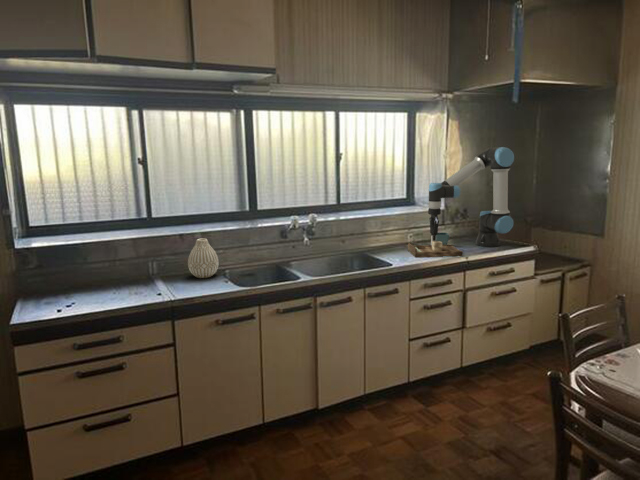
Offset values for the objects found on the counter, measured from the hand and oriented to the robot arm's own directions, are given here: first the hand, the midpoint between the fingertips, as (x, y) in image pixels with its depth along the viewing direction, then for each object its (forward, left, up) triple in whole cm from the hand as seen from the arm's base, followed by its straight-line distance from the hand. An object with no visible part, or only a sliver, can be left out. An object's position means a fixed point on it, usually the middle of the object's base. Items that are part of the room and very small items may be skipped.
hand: (433, 245), depth 306 cm
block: (-1, +3, -2) cm, 4 cm away
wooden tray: (0, +2, -5) cm, 5 cm away
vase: (+136, +41, -5) cm, 142 cm away
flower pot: (-10, -17, -5) cm, 20 cm away
